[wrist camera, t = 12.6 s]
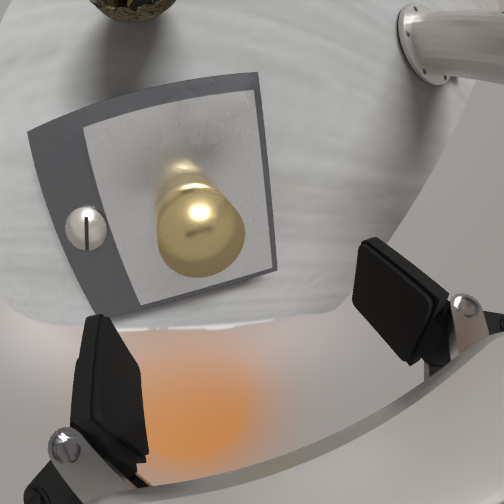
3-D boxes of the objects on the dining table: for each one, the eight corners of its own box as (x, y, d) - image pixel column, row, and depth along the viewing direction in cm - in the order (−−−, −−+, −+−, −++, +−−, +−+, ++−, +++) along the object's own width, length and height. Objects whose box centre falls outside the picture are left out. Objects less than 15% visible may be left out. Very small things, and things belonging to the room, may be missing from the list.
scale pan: (249, 90, 18) (253, 89, 17) (268, 262, 26) (272, 267, 25) (86, 126, 15) (82, 127, 14) (140, 298, 23) (140, 305, 22)
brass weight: (214, 165, 19) (239, 186, 14) (224, 225, 22) (249, 264, 17) (148, 181, 18) (146, 210, 13) (164, 242, 20) (170, 287, 16)
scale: (242, 77, 21) (260, 71, 17) (262, 251, 30) (279, 273, 27) (45, 128, 17) (24, 132, 13) (102, 296, 26) (98, 324, 23)
